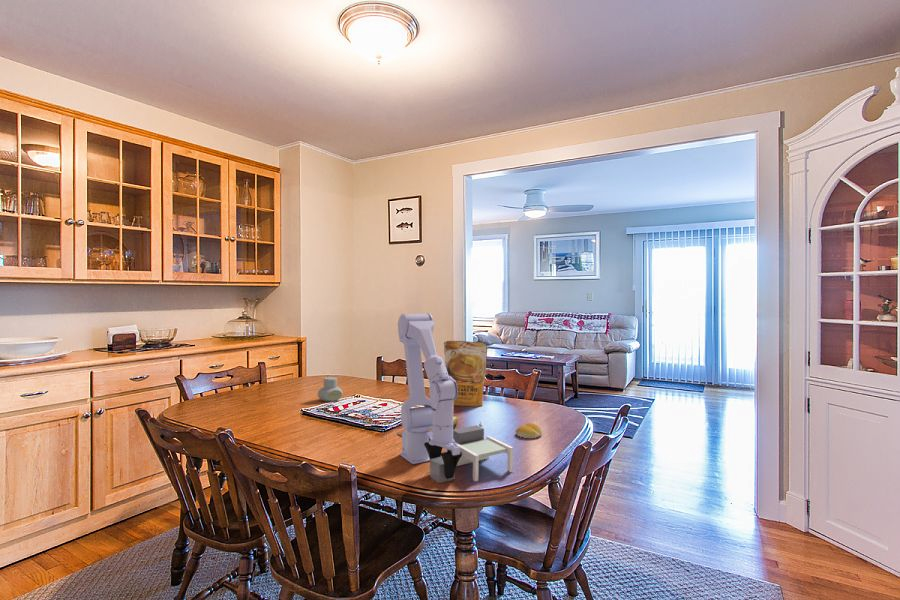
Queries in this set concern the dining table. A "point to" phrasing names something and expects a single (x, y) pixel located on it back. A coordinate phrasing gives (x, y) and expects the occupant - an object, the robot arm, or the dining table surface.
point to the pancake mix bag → (467, 370)
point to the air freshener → (330, 390)
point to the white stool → (473, 457)
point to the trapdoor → (476, 441)
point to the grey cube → (438, 470)
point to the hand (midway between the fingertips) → (442, 472)
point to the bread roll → (529, 431)
